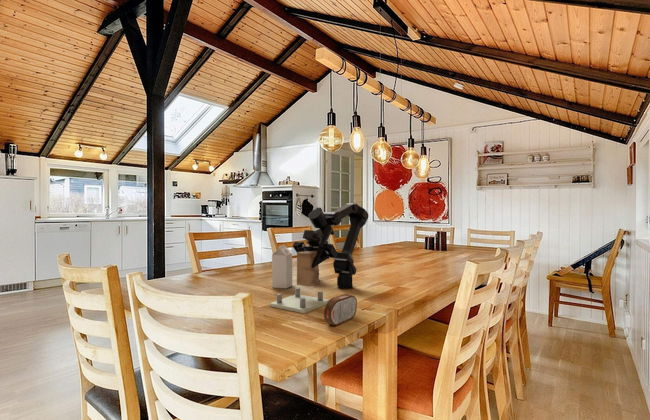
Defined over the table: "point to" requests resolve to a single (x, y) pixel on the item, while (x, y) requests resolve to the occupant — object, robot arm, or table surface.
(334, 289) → the table surface
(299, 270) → the walnut block
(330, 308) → the tin
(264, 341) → the table surface
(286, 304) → the peg stand
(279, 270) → the milk carton
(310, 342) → the table surface
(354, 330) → the table surface
